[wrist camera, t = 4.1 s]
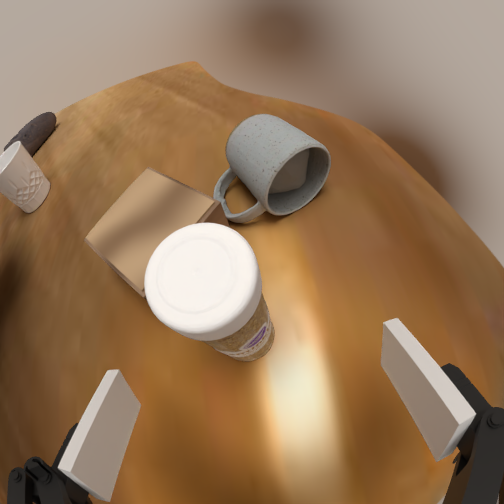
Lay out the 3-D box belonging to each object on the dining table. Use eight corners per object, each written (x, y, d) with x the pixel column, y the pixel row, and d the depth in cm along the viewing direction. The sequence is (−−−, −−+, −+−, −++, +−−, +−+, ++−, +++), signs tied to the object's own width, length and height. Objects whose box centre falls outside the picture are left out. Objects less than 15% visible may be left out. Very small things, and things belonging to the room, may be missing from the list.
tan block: (116, 267, 26) (82, 238, 21) (169, 203, 29) (147, 165, 23) (175, 318, 23) (141, 296, 18) (234, 240, 26) (219, 200, 20)
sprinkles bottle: (258, 371, 20) (216, 357, 8) (209, 345, 22) (120, 295, 10) (284, 321, 22) (279, 242, 10) (236, 298, 23) (181, 204, 11)
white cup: (17, 214, 34) (-17, 182, 25) (38, 178, 37) (8, 143, 29) (36, 218, 32) (-3, 181, 24) (60, 177, 36) (27, 137, 27)
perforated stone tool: (57, 122, 47) (44, 102, 41) (64, 124, 45) (50, 102, 39) (15, 169, 42) (-2, 151, 36) (19, 174, 40) (2, 154, 34)
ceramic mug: (280, 148, 31) (274, 94, 24) (329, 190, 27) (336, 133, 20) (202, 195, 29) (179, 144, 22) (244, 248, 26) (226, 197, 19)
